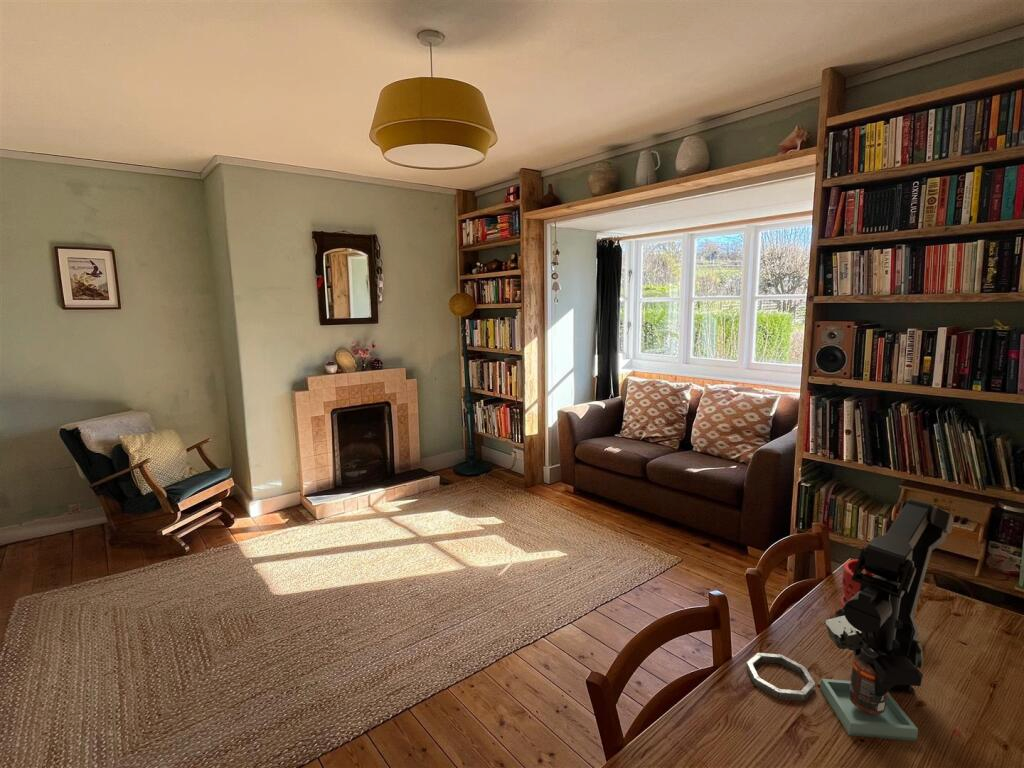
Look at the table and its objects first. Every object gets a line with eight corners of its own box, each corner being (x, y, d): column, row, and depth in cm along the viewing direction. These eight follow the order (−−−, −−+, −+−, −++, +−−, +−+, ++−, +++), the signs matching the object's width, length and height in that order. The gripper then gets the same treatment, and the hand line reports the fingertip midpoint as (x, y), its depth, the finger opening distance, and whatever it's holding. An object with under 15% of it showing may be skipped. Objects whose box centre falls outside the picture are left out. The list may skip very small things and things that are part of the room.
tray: (879, 694, 108) (881, 683, 108) (916, 741, 97) (918, 729, 96) (820, 689, 109) (821, 678, 109) (849, 735, 98) (850, 723, 97)
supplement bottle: (891, 718, 99) (899, 664, 97) (856, 713, 100) (863, 660, 98) (876, 695, 105) (883, 644, 103) (843, 690, 106) (849, 640, 104)
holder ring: (797, 661, 117) (797, 655, 117) (822, 702, 106) (823, 696, 105) (741, 657, 119) (741, 651, 118) (760, 697, 107) (760, 690, 106)
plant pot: (837, 618, 134) (842, 574, 132) (840, 594, 144) (845, 553, 142) (900, 637, 126) (907, 591, 124) (899, 611, 137) (905, 568, 135)
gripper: (812, 580, 109) (804, 648, 112) (861, 638, 91) (850, 718, 93) (869, 584, 108) (860, 652, 111) (930, 643, 90) (918, 723, 92)
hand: (869, 683), depth 102 cm, fingers closed on supplement bottle, 6 cm apart
